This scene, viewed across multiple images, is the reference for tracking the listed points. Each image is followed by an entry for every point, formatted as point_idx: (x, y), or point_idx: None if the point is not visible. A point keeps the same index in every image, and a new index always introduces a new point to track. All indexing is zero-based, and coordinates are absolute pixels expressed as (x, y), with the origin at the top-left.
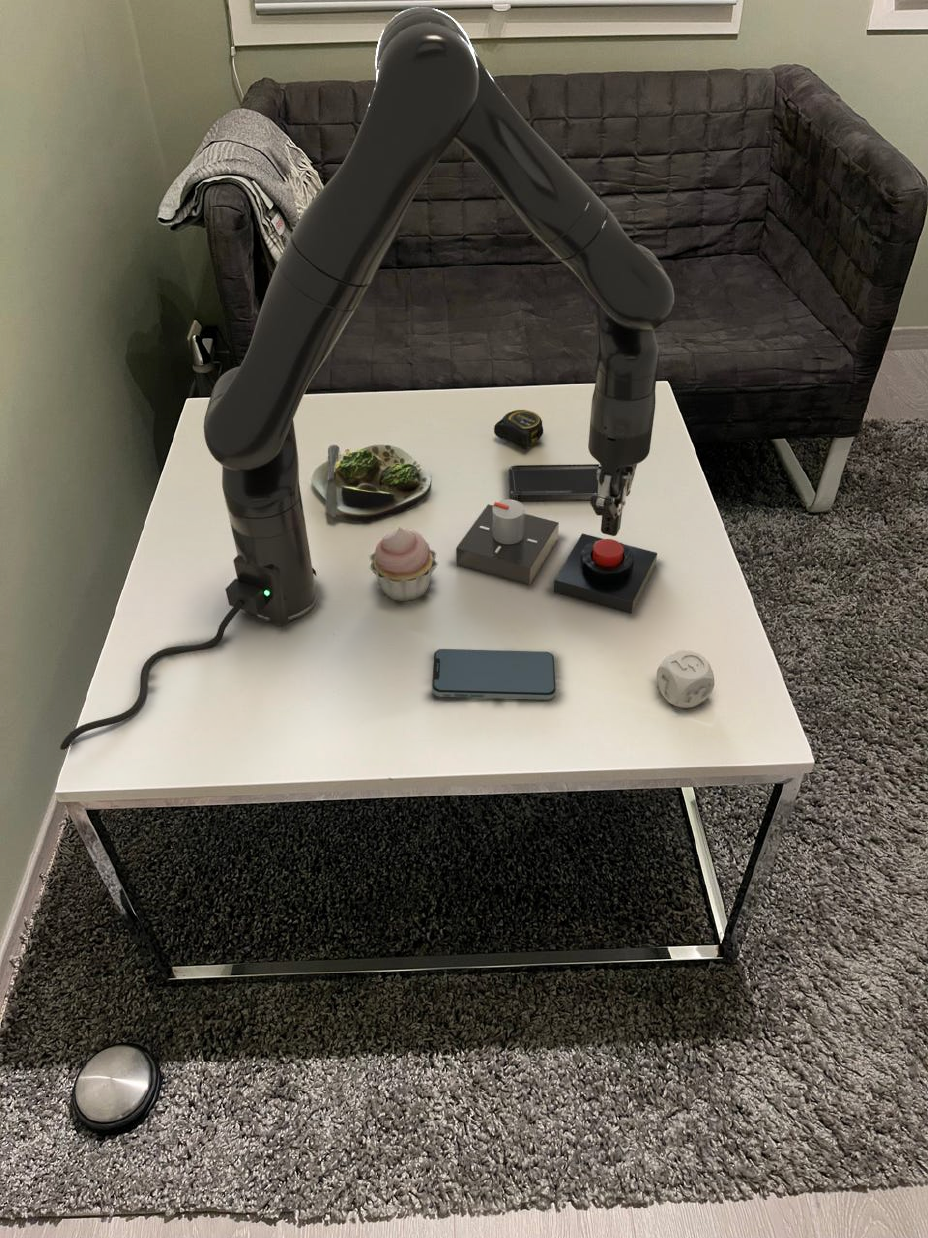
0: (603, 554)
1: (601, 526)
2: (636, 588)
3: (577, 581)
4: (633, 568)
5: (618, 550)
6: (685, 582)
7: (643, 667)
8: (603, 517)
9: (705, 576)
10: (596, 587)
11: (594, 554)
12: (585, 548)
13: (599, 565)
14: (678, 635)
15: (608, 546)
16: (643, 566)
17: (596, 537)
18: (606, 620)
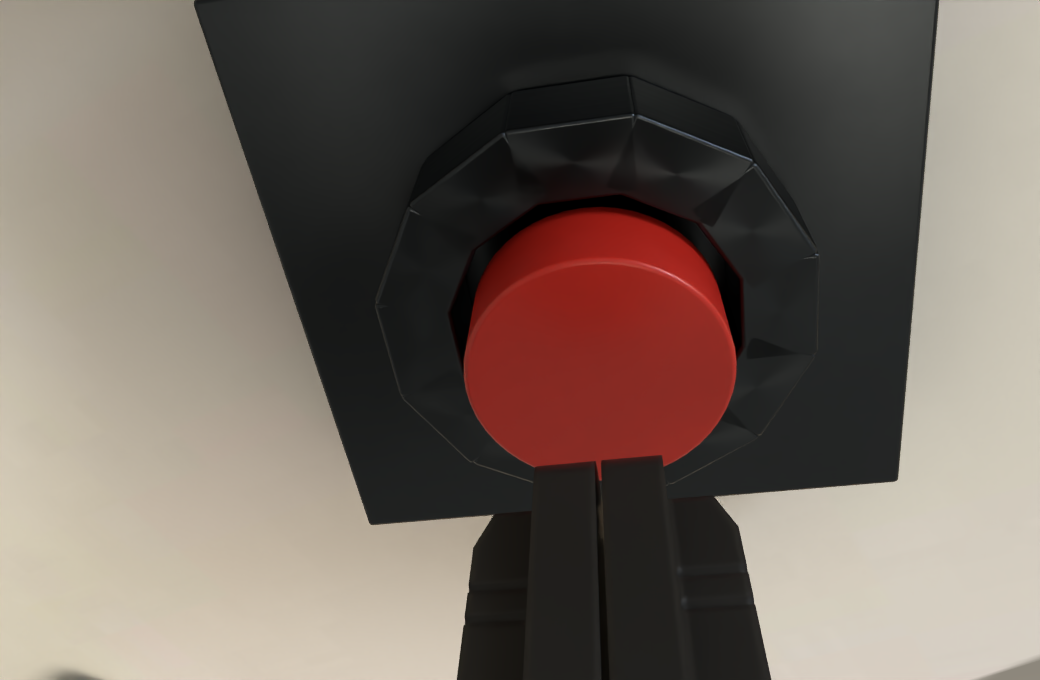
0: (491, 383)
1: (534, 513)
2: (488, 504)
3: (307, 174)
4: None
5: (611, 452)
6: (780, 571)
7: (117, 608)
8: (530, 642)
9: (871, 622)
10: (339, 314)
11: (490, 288)
12: (594, 130)
13: (448, 328)
14: (396, 648)
15: (617, 374)
16: (716, 464)
17: (925, 42)
18: (255, 378)
